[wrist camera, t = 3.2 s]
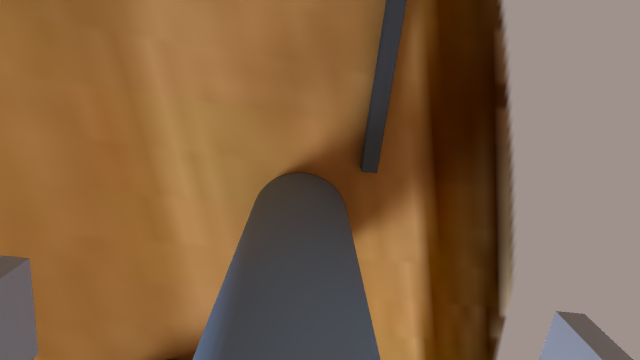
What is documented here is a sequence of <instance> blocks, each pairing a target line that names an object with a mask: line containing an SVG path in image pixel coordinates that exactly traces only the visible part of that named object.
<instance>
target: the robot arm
mask: <svg viewBox="0 0 640 360" xmlns="http://www.w3.org/2000/svg"><path fill="white" fill-rule="evenodd" d="M37 354H38V344H37V334H36V323H35V312H34V302H33V291H32V280H31V270H30V259H29V258H20V257H10V256H0V360H33V359H34V358H35V356H36V355H37ZM540 360H633V359H632V358H631V357H630V356H629V355H627V354H626V353H625V352H624V351H623V350H622V349H621V348H620V347H619V346H618V345H617V344H616V343H615V342H614V341H613V340H611V339H610V338H609V337H608V336H607V335H606V334H605V333H604V332H603V331H602V330H601V329H600V328H599V327H598V326H596V325H595V324H594V323H593V322H592V321H591V320H590V319H589V318H588V317H587V316H586V315H585V314H578V313H569V312H559V311H556V312H555V315H554V318H553V321H552V324H551V327H550V330H549V332H548V335H547V338H546V341H545V344H544V347H543V350H542V354H541V356H540Z"/></svg>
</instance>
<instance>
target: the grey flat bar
mask: <svg viewBox="0 0 640 360" xmlns="http://www.w3.org/2000/svg"><path fill="white" fill-rule="evenodd" d="M405 6H406V0H386V6H385V13H384V19H383V25H382V32H381V38H380V45H379V51H378V57H377V64H376V70H375V76H374V83H373V89H372V95H371V102H370V108H369V114H368V121H367V127H366V133H365V140H364V146H363V153H362V159H361V165H360V168H361V171H362V172H371V173H377V170H378V164H379V158H380V152H381V147H382V141H383V135H384V129H385V123H386V117H387V111H388V106H389V100H390V94H391V88H392V82H393V76H394V70H395V65H396V59H397V53H398V47H399V41H400V35H401V29H402V24H403V18H404V12H405Z"/></svg>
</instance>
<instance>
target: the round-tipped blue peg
mask: <svg viewBox="0 0 640 360" xmlns="http://www.w3.org/2000/svg"><path fill="white" fill-rule="evenodd" d="M193 360H380V356H379V352H378V347H377V343H376V338H375V334H374V330H373V325H372V321H371V316H370V312H369V307H368V303H367V299H366V294H365V290H364V285H363V281H362V276H361V272H360V268H359V263H358V259H357V254H356V250H355V245H354V241H353V237H352V232H351V228H350V223H349V219H348V215H347V210H346V206H345V203H344V200H343V198H342V196H341V195H340V193H339V192H338V190H337V189H336V188H335V187H334V186H333V185H332V184H330V183H329V182H328V181H326V180H325V179H323V178H321V177H318V176H316V175H313V174H308V173H291V174H286V175H283V176H280V177H278V178H276V179H274V180H273V181H271V182H270V183H268V184H267V185H266V186H265V187H264V188H263V189H262V191H261V192H260V193H259V195H258V196H257V199H256V201H255V203H254V206H253V208H252V211H251V213H250V216H249V218H248V221H247V223H246V226H245V228H244V231H243V233H242V236H241V238H240V241H239V243H238V246H237V249H236V251H235V254H234V256H233V259H232V261H231V264H230V266H229V269H228V271H227V274H226V276H225V279H224V281H223V284H222V286H221V289H220V291H219V294H218V297H217V299H216V302H215V304H214V307H213V309H212V312H211V314H210V317H209V319H208V322H207V324H206V327H205V329H204V332H203V334H202V337H201V339H200V342H199V345H198V347H197V350H196V352H195V355H194V357H193Z"/></svg>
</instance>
